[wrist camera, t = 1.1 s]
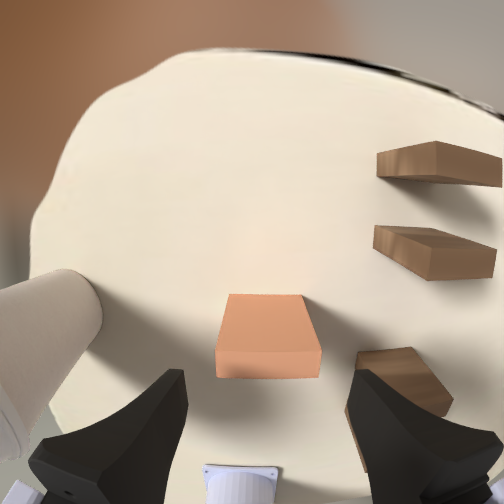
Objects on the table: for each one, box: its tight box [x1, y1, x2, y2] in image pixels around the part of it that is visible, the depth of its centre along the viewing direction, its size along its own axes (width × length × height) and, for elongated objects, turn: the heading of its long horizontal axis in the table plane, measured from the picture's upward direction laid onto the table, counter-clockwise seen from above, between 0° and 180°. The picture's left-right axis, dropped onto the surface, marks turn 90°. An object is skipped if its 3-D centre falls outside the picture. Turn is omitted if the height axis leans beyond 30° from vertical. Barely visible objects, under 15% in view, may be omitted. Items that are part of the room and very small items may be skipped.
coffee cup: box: [0, 269, 103, 463], centre depth 14 cm, size 10×10×15 cm
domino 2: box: [377, 141, 502, 188], centre depth 15 cm, size 2×5×8 cm, turn 89°
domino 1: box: [215, 294, 322, 379], centre depth 17 cm, size 2×5×8 cm, turn 90°
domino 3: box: [373, 225, 497, 281], centre depth 16 cm, size 2×5×8 cm, turn 89°
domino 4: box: [355, 347, 454, 418], centre depth 18 cm, size 2×5×8 cm, turn 90°
